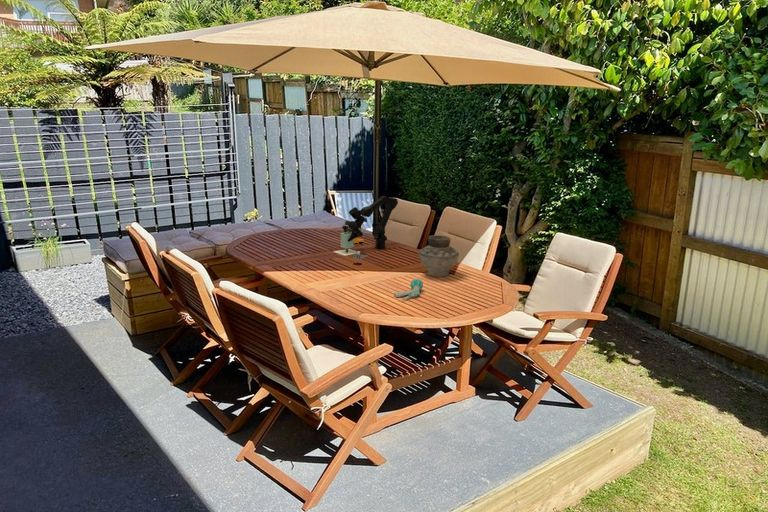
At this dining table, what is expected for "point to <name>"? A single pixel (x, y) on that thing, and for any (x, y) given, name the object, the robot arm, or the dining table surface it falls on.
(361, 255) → the stand
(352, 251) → the board
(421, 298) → the dining table surface
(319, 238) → the dining table surface
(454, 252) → the ceramic pot
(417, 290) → the garden hose nozzle
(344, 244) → the sleeve
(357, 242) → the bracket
